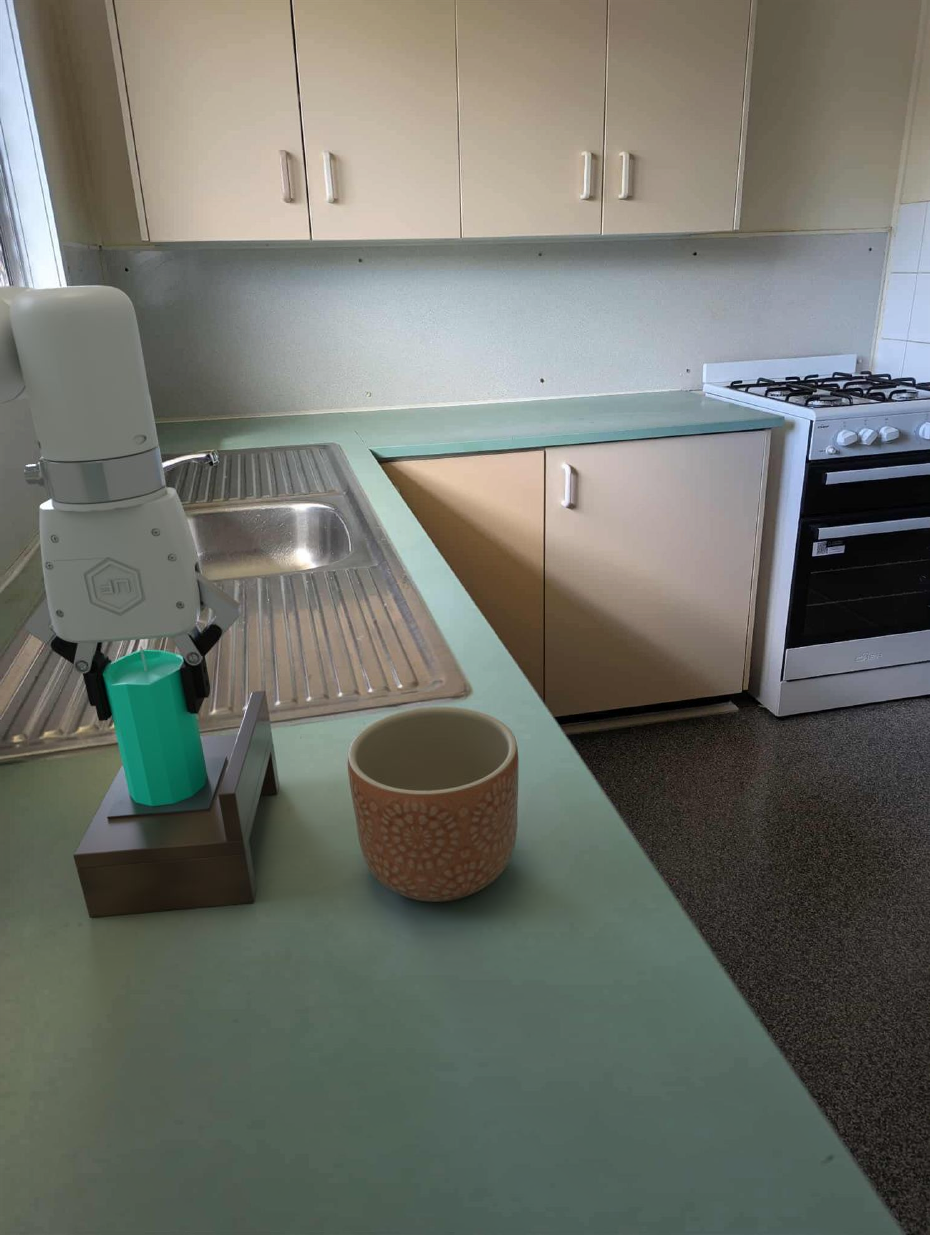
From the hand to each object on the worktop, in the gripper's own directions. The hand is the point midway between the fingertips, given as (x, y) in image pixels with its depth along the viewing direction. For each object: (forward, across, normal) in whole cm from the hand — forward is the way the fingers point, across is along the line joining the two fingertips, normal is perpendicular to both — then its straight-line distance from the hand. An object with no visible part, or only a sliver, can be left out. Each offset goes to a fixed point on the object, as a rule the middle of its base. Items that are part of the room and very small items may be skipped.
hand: (153, 706), depth 67 cm
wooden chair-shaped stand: (+13, +1, 0) cm, 13 cm away
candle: (+7, 0, 0) cm, 7 cm away
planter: (+13, +21, -6) cm, 25 cm away
